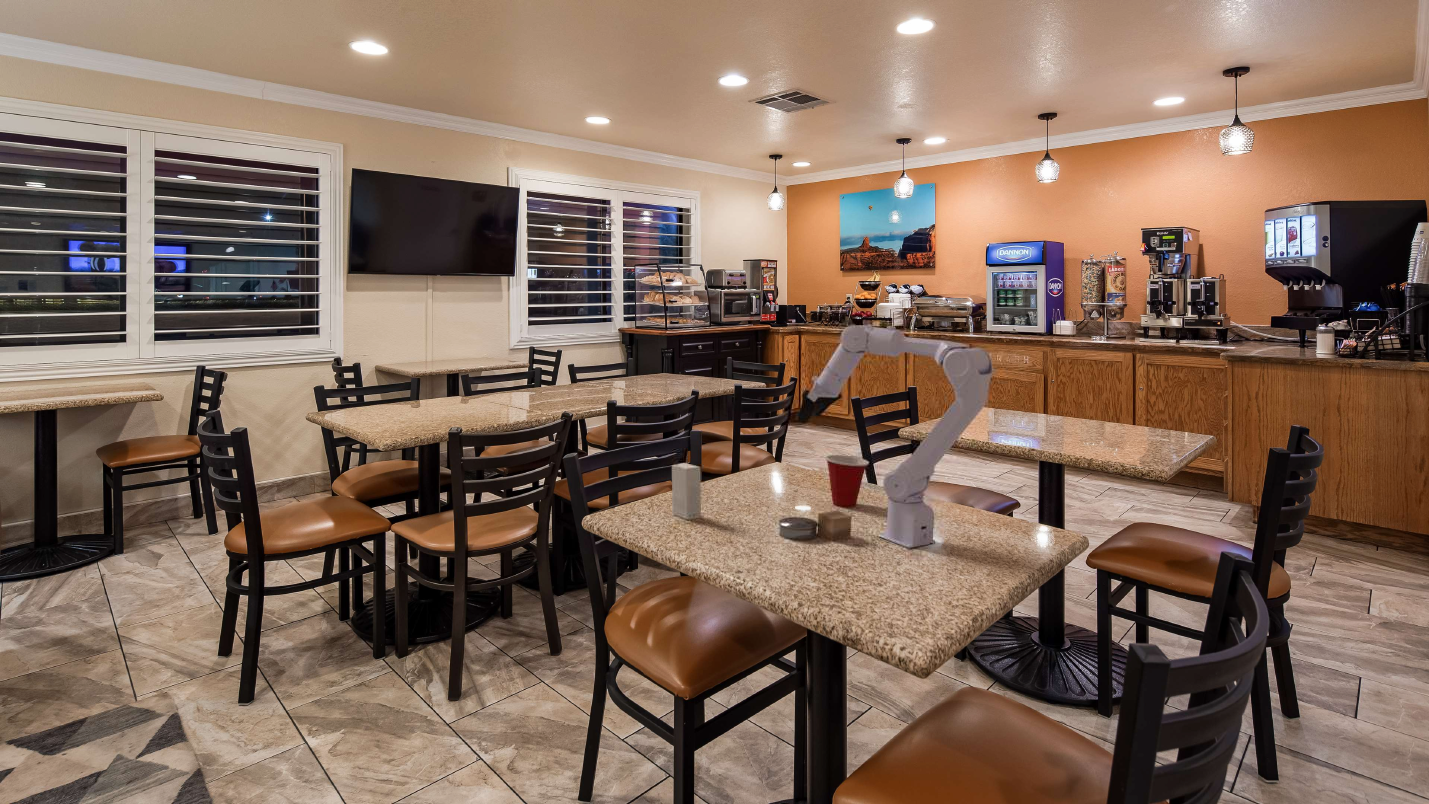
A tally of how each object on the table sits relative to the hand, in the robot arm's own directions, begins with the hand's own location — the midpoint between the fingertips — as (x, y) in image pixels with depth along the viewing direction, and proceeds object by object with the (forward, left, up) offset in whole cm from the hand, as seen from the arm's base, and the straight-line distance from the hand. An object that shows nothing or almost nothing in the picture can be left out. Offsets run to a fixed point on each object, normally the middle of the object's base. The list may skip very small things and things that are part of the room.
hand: (808, 417), depth 174 cm
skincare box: (+12, +25, -24) cm, 37 cm away
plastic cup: (+3, -16, -24) cm, 29 cm away
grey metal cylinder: (-12, +11, -24) cm, 29 cm away
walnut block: (-16, +5, -24) cm, 29 cm away
